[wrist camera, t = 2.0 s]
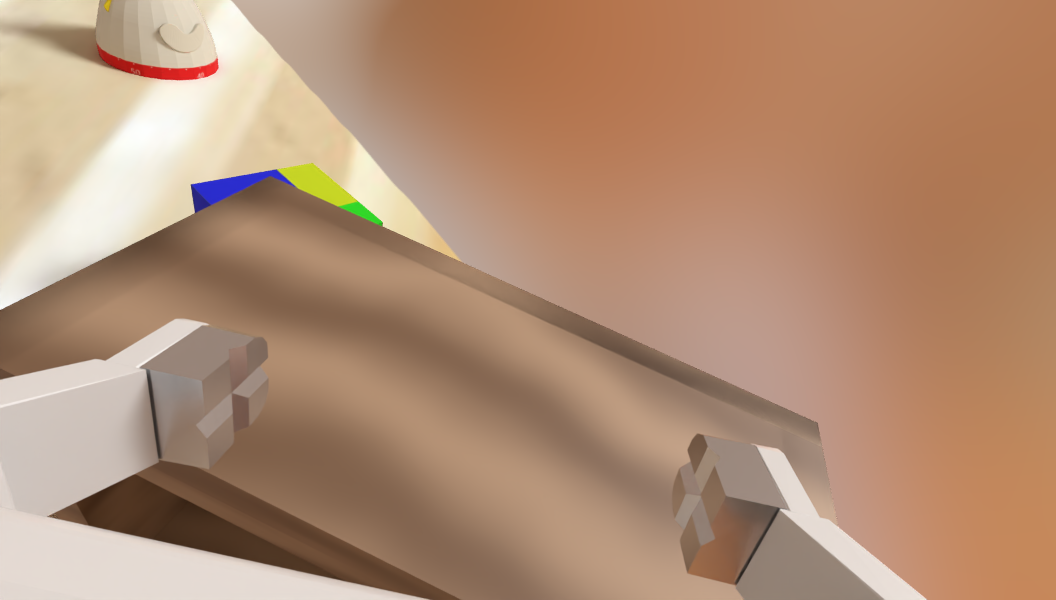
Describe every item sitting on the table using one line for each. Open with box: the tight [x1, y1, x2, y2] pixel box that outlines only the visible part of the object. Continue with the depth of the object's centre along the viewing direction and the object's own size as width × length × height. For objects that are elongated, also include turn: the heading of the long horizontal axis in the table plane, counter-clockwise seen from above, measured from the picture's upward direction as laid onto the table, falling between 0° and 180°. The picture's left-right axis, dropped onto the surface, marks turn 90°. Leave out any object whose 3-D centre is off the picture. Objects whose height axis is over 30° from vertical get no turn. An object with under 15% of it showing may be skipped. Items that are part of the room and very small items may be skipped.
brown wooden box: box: [0, 176, 838, 600], centre depth 25 cm, size 14×30×19 cm, turn 72°
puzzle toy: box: [191, 163, 383, 226], centre depth 43 cm, size 10×10×10 cm
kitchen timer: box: [96, 0, 218, 80], centre depth 67 cm, size 14×14×15 cm
